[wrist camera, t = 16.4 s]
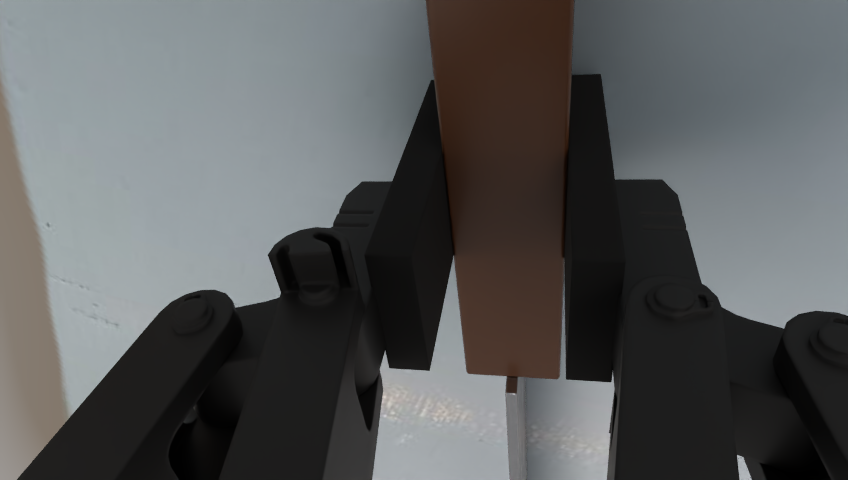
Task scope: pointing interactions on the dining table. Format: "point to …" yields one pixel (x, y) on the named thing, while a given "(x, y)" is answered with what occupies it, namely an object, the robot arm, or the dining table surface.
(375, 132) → the dining table surface
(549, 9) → the knife
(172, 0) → the dining table surface
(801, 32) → the dining table surface
